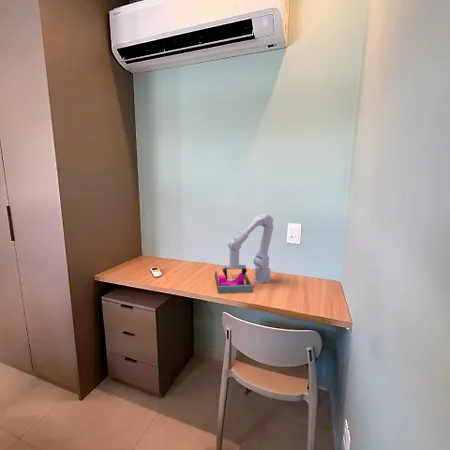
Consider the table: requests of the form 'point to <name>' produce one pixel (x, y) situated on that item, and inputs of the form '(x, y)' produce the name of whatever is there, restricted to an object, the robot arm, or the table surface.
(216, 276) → the lane rails
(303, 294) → the table surface
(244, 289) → the end stop
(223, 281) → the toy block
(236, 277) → the trap squares
